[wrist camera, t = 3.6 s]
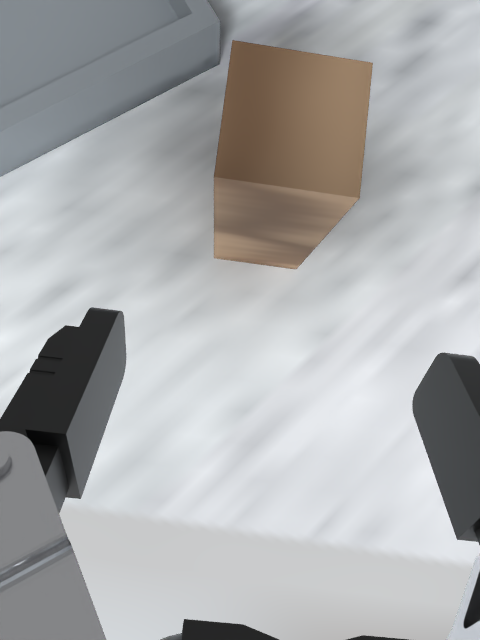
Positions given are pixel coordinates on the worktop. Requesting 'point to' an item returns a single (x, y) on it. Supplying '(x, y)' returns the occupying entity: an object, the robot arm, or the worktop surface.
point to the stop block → (287, 152)
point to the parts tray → (92, 64)
